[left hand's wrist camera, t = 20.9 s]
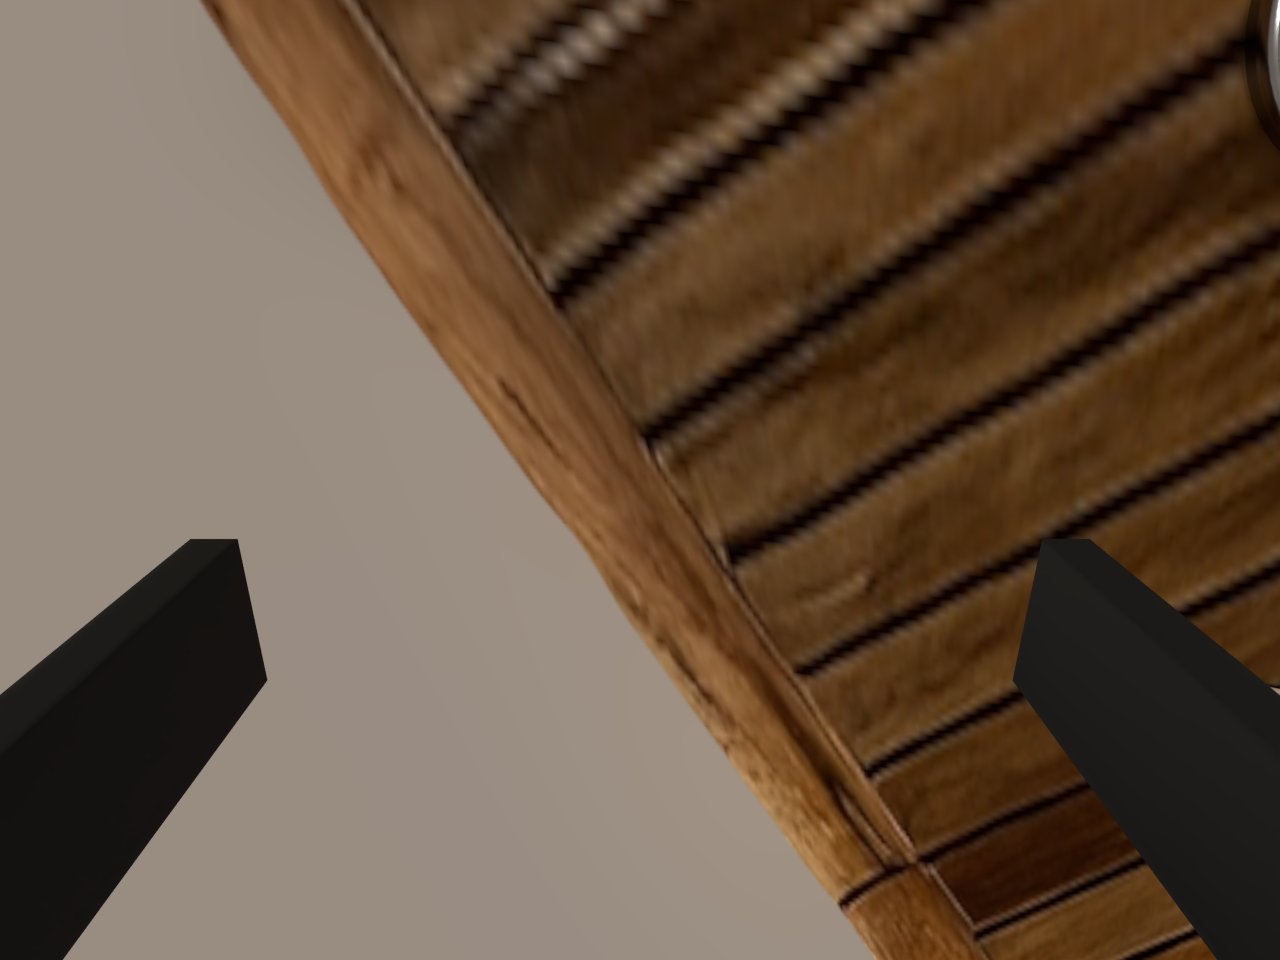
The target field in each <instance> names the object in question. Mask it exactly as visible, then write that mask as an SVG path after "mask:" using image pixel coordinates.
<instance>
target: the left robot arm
mask: <svg viewBox="0 0 1280 960" xmlns="http://www.w3.org/2000/svg"><path fill="white" fill-rule="evenodd" d="M1245 60H1246V73H1247V81H1248V87H1249V91H1250V95H1251V99H1252V103H1253V105H1254V108H1255V111H1256V114H1257V116H1258V118H1259V120H1260V122H1261V124H1262V127H1263V129H1264V130H1265V132H1266V133H1267V135H1268V136H1269V138H1270V139H1271V141H1272V142H1273V144H1274V145H1275V146H1276V147H1277V148H1278V149H1279V151H1280V0H1251V4H1250V9H1249V15H1248V21H1247V28H1246V43H1245ZM266 681H267V676H266V672H265V667H264V662H263V657H262V653H261V648H260V643H259V638H258V634H257V629H256V625H255V619H254V615H253V610H252V605H251V601H250V596H249V591H248V586H247V582H246V577H245V572H244V567H243V563H242V558H241V553H240V549H239V544H238V539H190V540H189V541H188V542H186V543H185V544H184V545H183V546H182V547H180V548H179V549H178V550H177V551H175V552H174V553H173V554H172V555H171V556H169V557H168V558H167V559H166V560H164V561H163V562H162V563H161V564H160V565H158V566H157V567H156V568H155V569H153V570H152V571H151V572H150V573H149V574H147V575H146V576H145V577H144V578H142V579H141V580H140V581H139V582H138V583H136V584H135V585H134V586H133V587H131V588H130V589H129V590H128V591H127V592H125V593H124V594H123V595H122V596H120V597H119V598H118V599H117V600H116V601H114V602H113V603H112V604H111V605H109V606H108V607H107V608H106V609H105V610H103V611H102V612H101V613H100V614H98V615H97V616H96V617H95V618H94V619H92V620H91V621H90V622H89V623H88V624H86V625H85V626H84V627H83V628H81V629H80V630H79V631H78V632H76V633H75V634H74V635H73V636H72V637H70V638H69V639H68V640H67V641H65V642H64V643H63V644H62V645H61V646H59V647H58V648H57V649H56V650H54V651H53V652H52V653H51V654H50V655H48V656H47V657H46V658H45V659H43V660H42V661H41V662H40V663H39V664H37V665H36V666H35V667H34V668H32V669H31V670H30V671H29V672H28V673H26V674H25V675H24V676H23V677H21V678H20V679H19V680H18V681H17V682H15V683H14V684H13V685H12V686H10V687H9V688H8V689H7V690H6V691H4V692H3V693H2V694H1V695H0V960H63V959H64V957H65V956H66V955H67V953H68V952H69V950H70V949H71V948H72V946H73V945H74V944H75V942H76V941H77V939H78V938H79V937H80V935H81V934H82V933H83V931H84V930H85V929H86V927H87V926H88V925H89V923H90V922H91V920H92V919H93V918H94V916H95V915H96V914H97V912H98V911H99V910H100V908H101V907H102V905H103V904H104V903H105V901H106V900H107V899H108V897H109V896H110V894H111V893H112V892H113V890H114V889H115V888H116V886H117V885H118V884H119V882H120V881H121V879H122V878H123V877H124V875H125V874H126V873H127V871H128V870H129V869H130V867H131V866H132V864H133V863H134V862H135V860H136V859H137V858H138V856H139V855H140V854H141V852H142V851H143V849H144V848H145V847H146V845H147V844H148V843H149V841H150V840H151V838H152V837H153V836H154V834H155V833H156V832H157V830H158V829H159V828H160V826H161V825H162V823H163V822H164V821H165V819H166V818H167V817H168V815H169V814H170V812H171V811H172V810H173V808H174V807H175V806H176V804H177V803H178V802H179V800H180V799H181V798H182V796H183V795H184V793H185V792H186V791H187V789H188V788H189V787H190V785H191V784H192V782H193V781H194V780H195V778H196V777H197V776H198V774H199V773H200V772H201V770H202V769H203V767H204V766H205V765H206V763H207V762H208V761H209V759H210V758H211V756H212V755H213V754H214V752H215V751H216V750H217V748H218V747H219V746H220V744H221V743H222V742H223V740H224V739H225V737H226V736H227V735H228V733H229V732H230V731H231V729H232V728H233V726H234V725H235V724H236V722H237V721H238V720H239V718H240V717H241V716H242V714H243V713H244V711H245V710H246V709H247V707H248V706H249V705H250V703H251V702H252V701H253V699H254V698H255V696H256V695H257V694H258V692H259V691H260V690H261V688H262V687H263V686H264V684H265V683H266ZM1013 681H1014V683H1015V684H1016V686H1017V687H1018V688H1019V690H1020V691H1021V692H1022V694H1023V695H1024V696H1025V698H1026V699H1027V701H1028V702H1029V703H1030V705H1031V706H1032V707H1033V709H1034V710H1035V711H1036V713H1037V714H1038V716H1039V717H1040V718H1041V720H1042V721H1043V722H1044V724H1045V725H1046V726H1047V728H1048V729H1049V731H1050V732H1051V733H1052V735H1053V736H1054V737H1055V739H1056V740H1057V742H1058V743H1059V744H1060V746H1061V747H1062V748H1063V750H1064V751H1065V752H1066V754H1067V755H1068V757H1069V758H1070V759H1071V761H1072V762H1073V763H1074V765H1075V766H1076V767H1077V769H1078V770H1079V772H1080V773H1081V774H1082V776H1083V777H1084V778H1085V780H1086V781H1087V782H1088V784H1089V785H1090V787H1091V788H1092V789H1093V791H1094V792H1095V793H1096V795H1097V796H1098V798H1099V799H1100V800H1101V802H1102V803H1103V804H1104V806H1105V807H1106V808H1107V810H1108V811H1109V813H1110V814H1111V815H1112V817H1113V818H1114V819H1115V821H1116V822H1117V823H1118V825H1119V826H1120V828H1121V829H1122V830H1123V832H1124V833H1125V834H1126V836H1127V837H1128V838H1129V840H1130V841H1131V843H1132V844H1133V845H1134V847H1135V848H1136V849H1137V851H1138V852H1139V854H1140V855H1141V856H1142V858H1143V859H1144V860H1145V862H1146V863H1147V864H1148V866H1149V867H1150V869H1151V870H1152V871H1153V873H1154V874H1155V875H1156V877H1157V878H1158V879H1159V881H1160V882H1161V884H1162V885H1163V886H1164V888H1165V889H1166V890H1167V892H1168V893H1169V895H1170V896H1171V897H1172V899H1173V900H1174V901H1175V903H1176V904H1177V905H1178V907H1179V908H1180V910H1181V911H1182V912H1183V914H1184V915H1185V916H1186V918H1187V919H1188V920H1189V922H1190V923H1191V925H1192V926H1193V927H1194V929H1195V930H1196V931H1197V933H1198V934H1199V935H1200V937H1201V938H1202V940H1203V941H1204V942H1205V944H1206V945H1207V946H1208V948H1209V949H1210V951H1211V952H1212V953H1213V955H1214V956H1215V957H1216V959H1217V960H1280V695H1279V694H1278V693H1277V692H1276V691H1274V690H1273V689H1272V688H1271V687H1270V686H1268V685H1267V684H1266V683H1265V682H1263V681H1262V680H1261V679H1260V678H1259V677H1257V676H1256V675H1255V674H1254V673H1252V672H1251V671H1250V670H1249V669H1248V668H1246V667H1245V666H1244V665H1243V664H1241V663H1240V662H1239V661H1238V660H1237V659H1235V658H1234V657H1233V656H1232V655H1230V654H1229V653H1228V652H1227V651H1226V650H1224V649H1223V648H1222V647H1221V646H1219V645H1218V644H1217V643H1216V642H1215V641H1213V640H1212V639H1211V638H1210V637H1208V636H1207V635H1206V634H1205V633H1204V632H1202V631H1201V630H1200V629H1199V628H1197V627H1196V626H1195V625H1194V624H1193V623H1191V622H1190V621H1189V620H1188V619H1186V618H1185V617H1184V616H1183V615H1182V614H1180V613H1179V612H1178V611H1177V610H1175V609H1174V608H1173V607H1172V606H1171V605H1169V604H1168V603H1167V602H1166V601H1164V600H1163V599H1162V598H1161V597H1160V596H1158V595H1157V594H1156V593H1155V592H1153V591H1152V590H1151V589H1150V588H1149V587H1147V586H1146V585H1145V584H1144V583H1142V582H1141V581H1140V580H1139V579H1138V578H1136V577H1135V576H1134V575H1133V574H1131V573H1130V572H1129V571H1128V570H1127V569H1125V568H1124V567H1123V566H1122V565H1120V564H1119V563H1118V562H1117V561H1116V560H1114V559H1113V558H1112V557H1111V556H1109V555H1108V554H1107V553H1106V552H1105V551H1103V550H1102V549H1101V548H1100V547H1098V546H1097V545H1096V544H1095V543H1094V542H1092V541H1091V540H1090V539H1042V544H1041V549H1040V553H1039V558H1038V563H1037V567H1036V572H1035V577H1034V582H1033V586H1032V591H1031V596H1030V601H1029V605H1028V610H1027V615H1026V619H1025V624H1024V629H1023V634H1022V638H1021V643H1020V648H1019V653H1018V657H1017V662H1016V667H1015V671H1014V676H1013Z"/></svg>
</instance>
